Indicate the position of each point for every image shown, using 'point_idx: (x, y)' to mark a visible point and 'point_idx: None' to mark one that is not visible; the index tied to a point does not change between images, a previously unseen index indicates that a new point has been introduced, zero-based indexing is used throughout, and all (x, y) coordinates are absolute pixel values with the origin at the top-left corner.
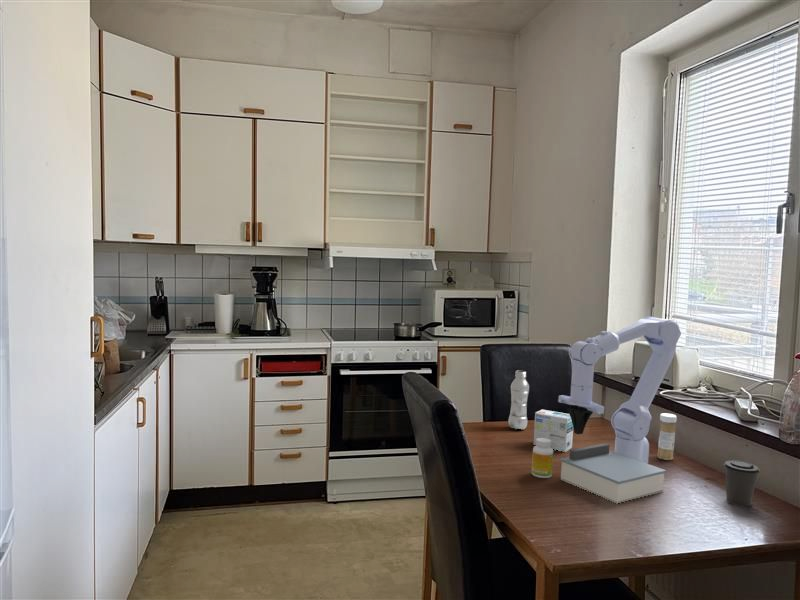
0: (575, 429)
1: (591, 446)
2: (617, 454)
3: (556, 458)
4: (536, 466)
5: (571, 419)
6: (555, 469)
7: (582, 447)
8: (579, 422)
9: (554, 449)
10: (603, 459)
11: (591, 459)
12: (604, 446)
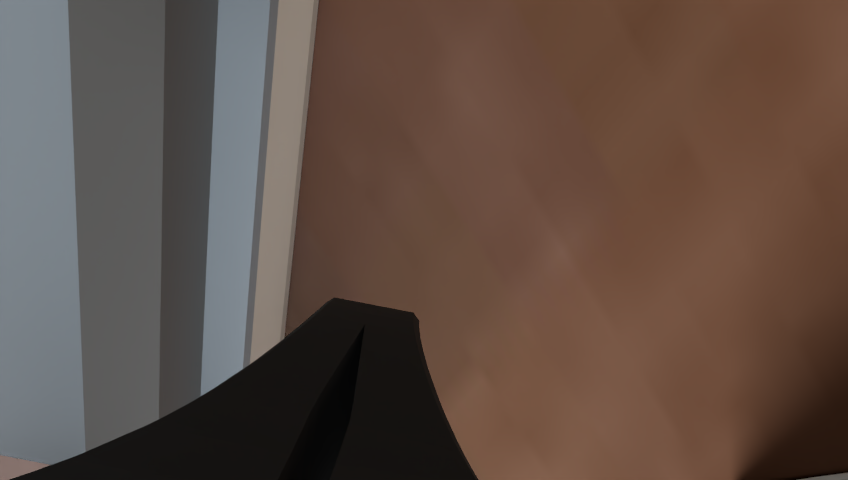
0: (365, 331)
1: (137, 244)
2: (73, 443)
3: (722, 303)
4: None
5: (464, 463)
6: (567, 7)
7: (162, 83)
8: (182, 409)
9: (842, 476)
10: (4, 171)
11: (64, 43)
12: (89, 399)
